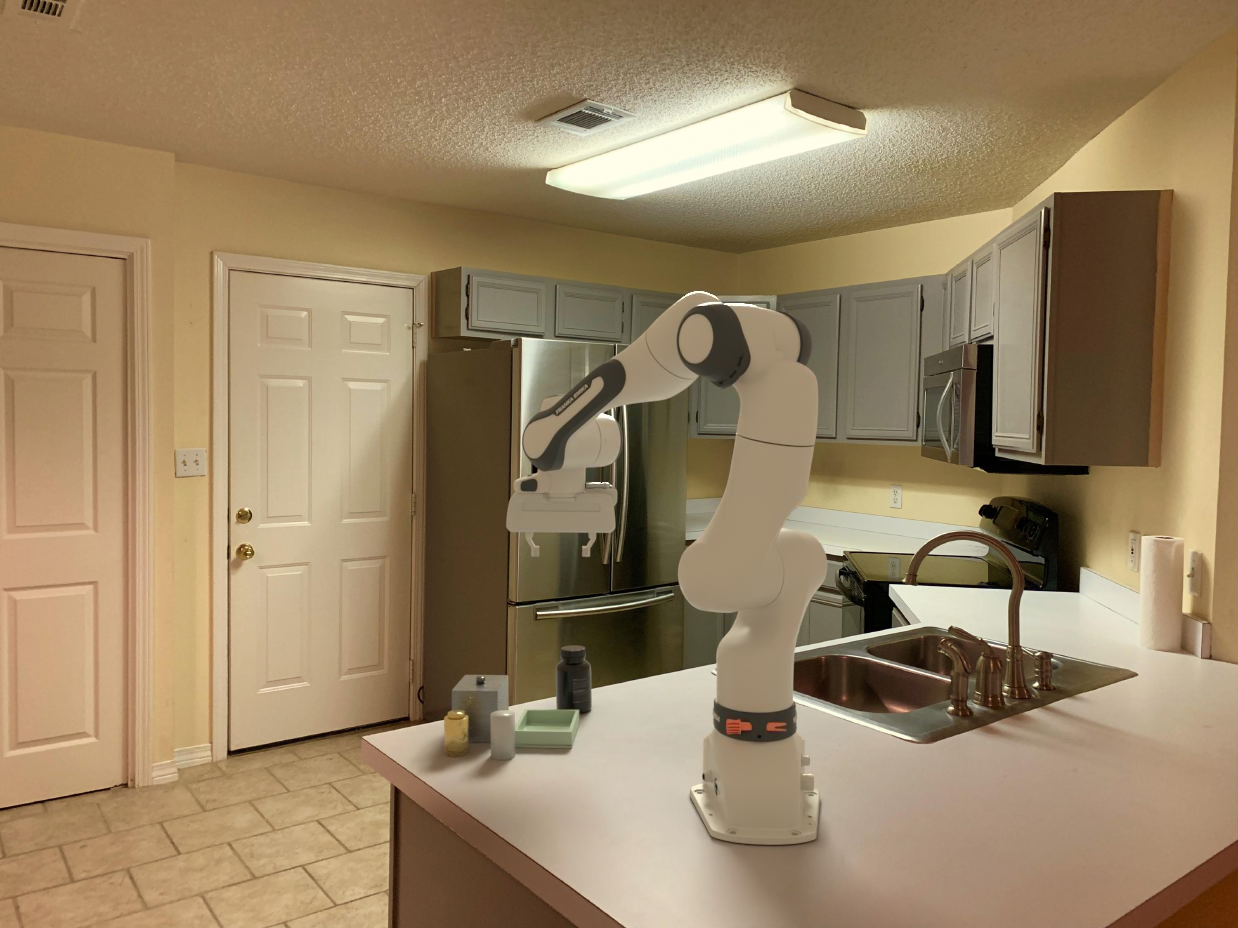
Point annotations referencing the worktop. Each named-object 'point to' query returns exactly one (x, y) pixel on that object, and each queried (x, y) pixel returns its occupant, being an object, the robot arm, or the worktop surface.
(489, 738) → the box
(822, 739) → the worktop surface
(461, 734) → the brass fitting
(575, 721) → the tray
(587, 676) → the supplement bottle
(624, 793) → the worktop surface
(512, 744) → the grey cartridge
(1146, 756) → the worktop surface
